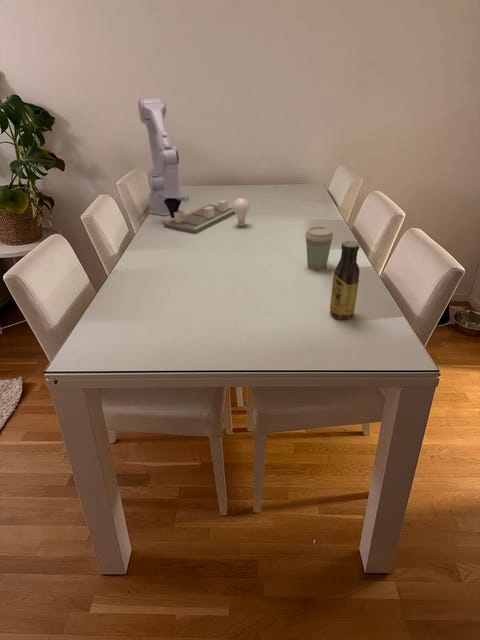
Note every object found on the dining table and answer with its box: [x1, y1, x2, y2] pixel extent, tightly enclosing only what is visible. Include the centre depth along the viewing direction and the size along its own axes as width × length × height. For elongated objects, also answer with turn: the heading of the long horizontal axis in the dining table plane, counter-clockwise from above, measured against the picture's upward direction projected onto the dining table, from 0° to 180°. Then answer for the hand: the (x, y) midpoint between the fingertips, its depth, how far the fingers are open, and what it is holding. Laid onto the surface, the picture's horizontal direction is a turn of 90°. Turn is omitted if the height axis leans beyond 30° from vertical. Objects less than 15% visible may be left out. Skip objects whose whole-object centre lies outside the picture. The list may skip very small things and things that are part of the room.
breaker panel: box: [163, 203, 236, 235], centre depth 188 cm, size 15×30×2 cm, turn 148°
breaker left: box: [217, 199, 229, 212], centre depth 193 cm, size 2×4×4 cm
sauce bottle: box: [329, 240, 361, 320], centre depth 115 cm, size 6×6×20 cm
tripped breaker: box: [173, 209, 186, 223], centre depth 181 cm, size 2×4×4 cm
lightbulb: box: [232, 197, 250, 228], centre depth 178 cm, size 6×6×11 cm
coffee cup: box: [304, 226, 334, 272], centre depth 144 cm, size 8×8×12 cm
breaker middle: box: [204, 206, 214, 219], centre depth 185 cm, size 2×4×4 cm
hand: (174, 217), depth 183 cm, fingers closed
